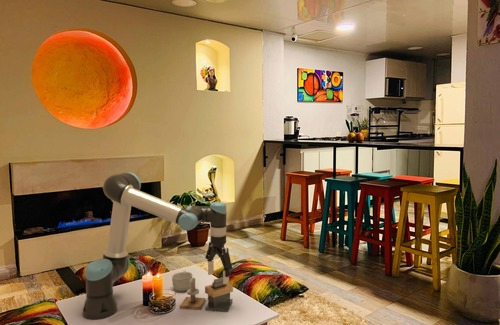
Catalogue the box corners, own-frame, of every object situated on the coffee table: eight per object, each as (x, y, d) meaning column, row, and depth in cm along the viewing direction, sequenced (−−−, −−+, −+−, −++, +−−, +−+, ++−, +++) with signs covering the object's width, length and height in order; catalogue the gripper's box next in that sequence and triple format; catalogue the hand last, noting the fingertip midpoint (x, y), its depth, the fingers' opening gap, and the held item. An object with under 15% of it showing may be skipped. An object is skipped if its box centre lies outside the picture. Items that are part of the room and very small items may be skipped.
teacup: (188, 294, 200) (188, 279, 200) (168, 292, 203) (168, 277, 202) (197, 283, 214) (197, 269, 213) (178, 282, 216) (178, 268, 216)
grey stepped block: (205, 310, 182) (204, 282, 181) (210, 300, 192) (210, 274, 191) (228, 312, 180) (227, 283, 179) (232, 301, 191) (232, 275, 190)
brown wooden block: (213, 297, 179) (213, 291, 179) (205, 292, 185) (204, 286, 185) (233, 291, 186) (232, 285, 186) (224, 286, 192) (224, 281, 192)
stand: (179, 308, 184) (179, 282, 183) (186, 299, 194) (185, 274, 193) (200, 309, 182) (199, 283, 181) (205, 300, 192) (205, 275, 191)
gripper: (240, 239, 176) (239, 285, 178) (211, 228, 196) (211, 269, 197) (226, 242, 171) (225, 288, 173) (198, 230, 191) (198, 272, 193)
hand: (218, 278), depth 185 cm, fingers open, 13 cm apart
